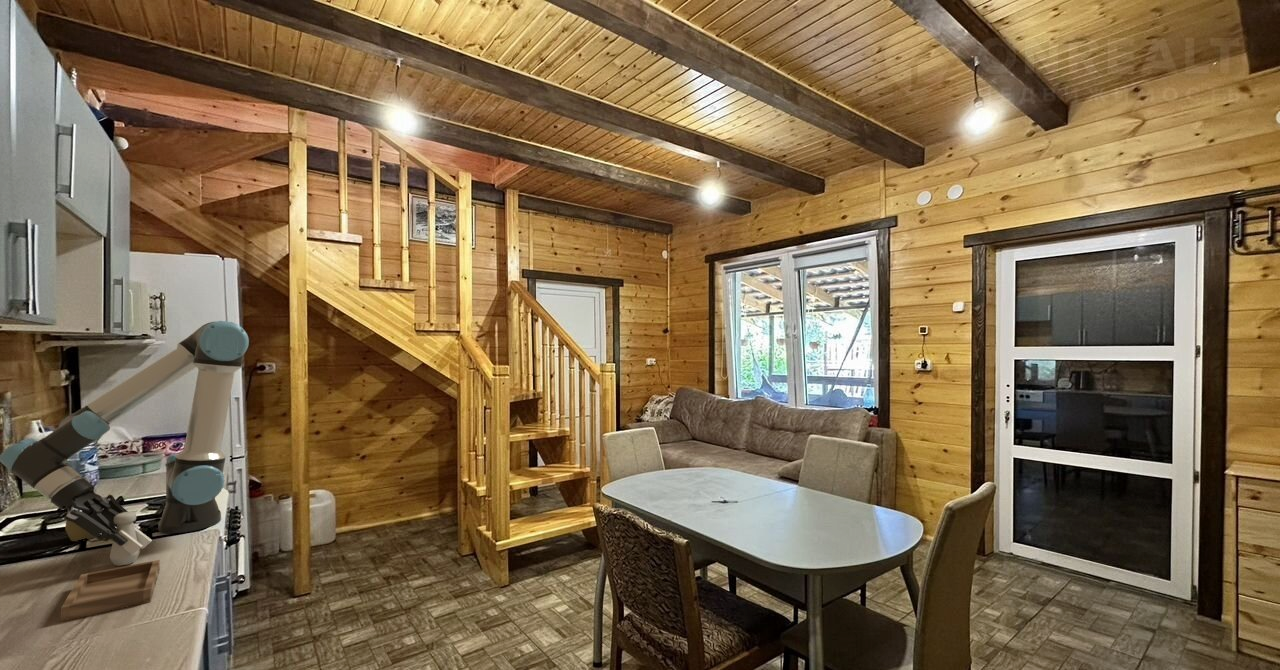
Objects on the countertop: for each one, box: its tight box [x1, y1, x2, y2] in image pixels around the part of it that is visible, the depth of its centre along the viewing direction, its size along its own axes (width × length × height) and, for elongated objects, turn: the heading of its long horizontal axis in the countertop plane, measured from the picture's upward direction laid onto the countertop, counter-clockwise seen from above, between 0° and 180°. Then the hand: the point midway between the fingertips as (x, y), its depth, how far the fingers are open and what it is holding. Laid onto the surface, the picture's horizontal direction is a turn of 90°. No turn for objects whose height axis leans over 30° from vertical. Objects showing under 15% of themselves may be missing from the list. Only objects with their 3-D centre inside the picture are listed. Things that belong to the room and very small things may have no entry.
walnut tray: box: [60, 559, 161, 623], centre depth 125 cm, size 19×14×3 cm
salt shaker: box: [109, 511, 141, 567], centre depth 141 cm, size 6×6×13 cm
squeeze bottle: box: [64, 476, 103, 542], centre depth 157 cm, size 8×8×18 cm
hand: (142, 547), depth 141 cm, fingers closed on salt shaker, 3 cm apart
